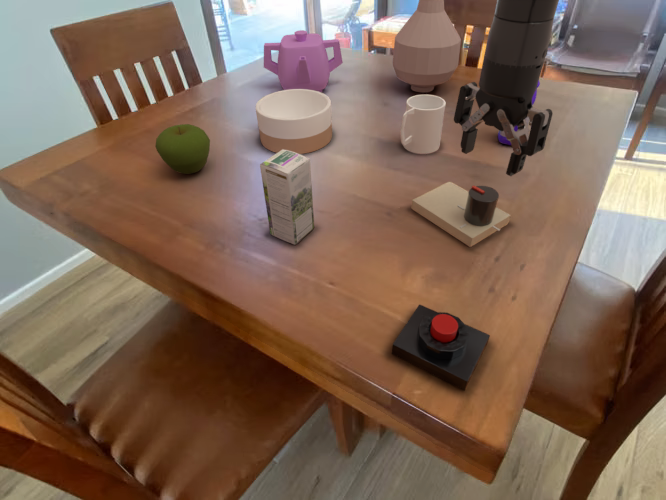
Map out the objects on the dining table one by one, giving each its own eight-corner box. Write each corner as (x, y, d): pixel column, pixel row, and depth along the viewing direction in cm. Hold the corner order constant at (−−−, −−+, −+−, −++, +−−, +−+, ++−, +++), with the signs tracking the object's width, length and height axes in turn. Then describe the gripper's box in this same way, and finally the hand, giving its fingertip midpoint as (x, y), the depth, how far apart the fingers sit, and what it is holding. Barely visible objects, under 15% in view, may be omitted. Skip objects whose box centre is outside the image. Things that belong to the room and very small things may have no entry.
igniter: (486, 345, 57) (493, 326, 55) (464, 391, 52) (470, 372, 50) (417, 314, 62) (420, 295, 59) (391, 354, 57) (393, 335, 54)
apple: (154, 177, 92) (139, 134, 85) (186, 154, 99) (174, 112, 92) (195, 187, 88) (183, 143, 82) (225, 163, 95) (215, 120, 89)
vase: (444, 104, 115) (463, -29, 95) (382, 94, 121) (387, -32, 101) (460, 81, 126) (480, -42, 106) (402, 73, 132) (411, -44, 112)
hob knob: (498, 218, 74) (505, 193, 71) (479, 229, 72) (486, 203, 68) (476, 206, 77) (482, 180, 73) (457, 216, 75) (462, 190, 71)
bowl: (245, 144, 101) (239, 110, 96) (287, 116, 112) (284, 84, 107) (307, 161, 95) (304, 126, 89) (345, 129, 106) (344, 96, 100)
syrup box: (290, 218, 80) (281, 147, 70) (316, 229, 77) (310, 156, 67) (269, 235, 76) (257, 162, 66) (296, 246, 74) (287, 173, 64)
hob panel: (515, 228, 75) (518, 218, 74) (477, 252, 71) (479, 242, 70) (448, 189, 85) (449, 180, 83) (411, 208, 81) (412, 199, 79)
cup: (384, 151, 97) (386, 108, 90) (418, 133, 103) (422, 91, 96) (413, 164, 92) (418, 119, 86) (446, 144, 98) (453, 101, 92)
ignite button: (459, 329, 55) (462, 320, 54) (450, 347, 53) (452, 338, 52) (436, 318, 56) (438, 310, 55) (426, 335, 54) (427, 327, 53)
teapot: (303, 71, 137) (299, 18, 127) (349, 83, 128) (348, 27, 118) (259, 91, 126) (251, 35, 116) (306, 105, 117) (301, 46, 107)
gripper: (453, 46, 59) (438, 152, 70) (546, 75, 51) (512, 191, 61) (489, 35, 62) (469, 138, 73) (582, 60, 54) (543, 173, 65)
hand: (488, 162), depth 67 cm, fingers open, 8 cm apart
